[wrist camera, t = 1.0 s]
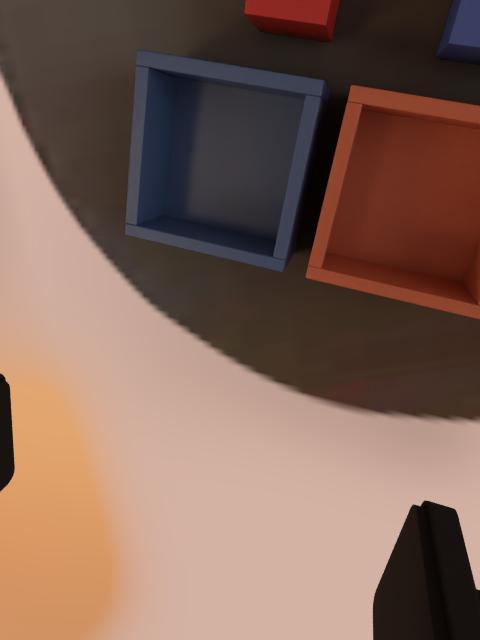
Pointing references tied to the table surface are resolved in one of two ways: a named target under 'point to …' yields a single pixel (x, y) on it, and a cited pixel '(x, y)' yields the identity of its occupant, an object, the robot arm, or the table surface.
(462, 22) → the blue block
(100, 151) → the table surface
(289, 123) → the blue bin
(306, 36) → the red block
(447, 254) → the terracotta bin
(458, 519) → the robot arm
